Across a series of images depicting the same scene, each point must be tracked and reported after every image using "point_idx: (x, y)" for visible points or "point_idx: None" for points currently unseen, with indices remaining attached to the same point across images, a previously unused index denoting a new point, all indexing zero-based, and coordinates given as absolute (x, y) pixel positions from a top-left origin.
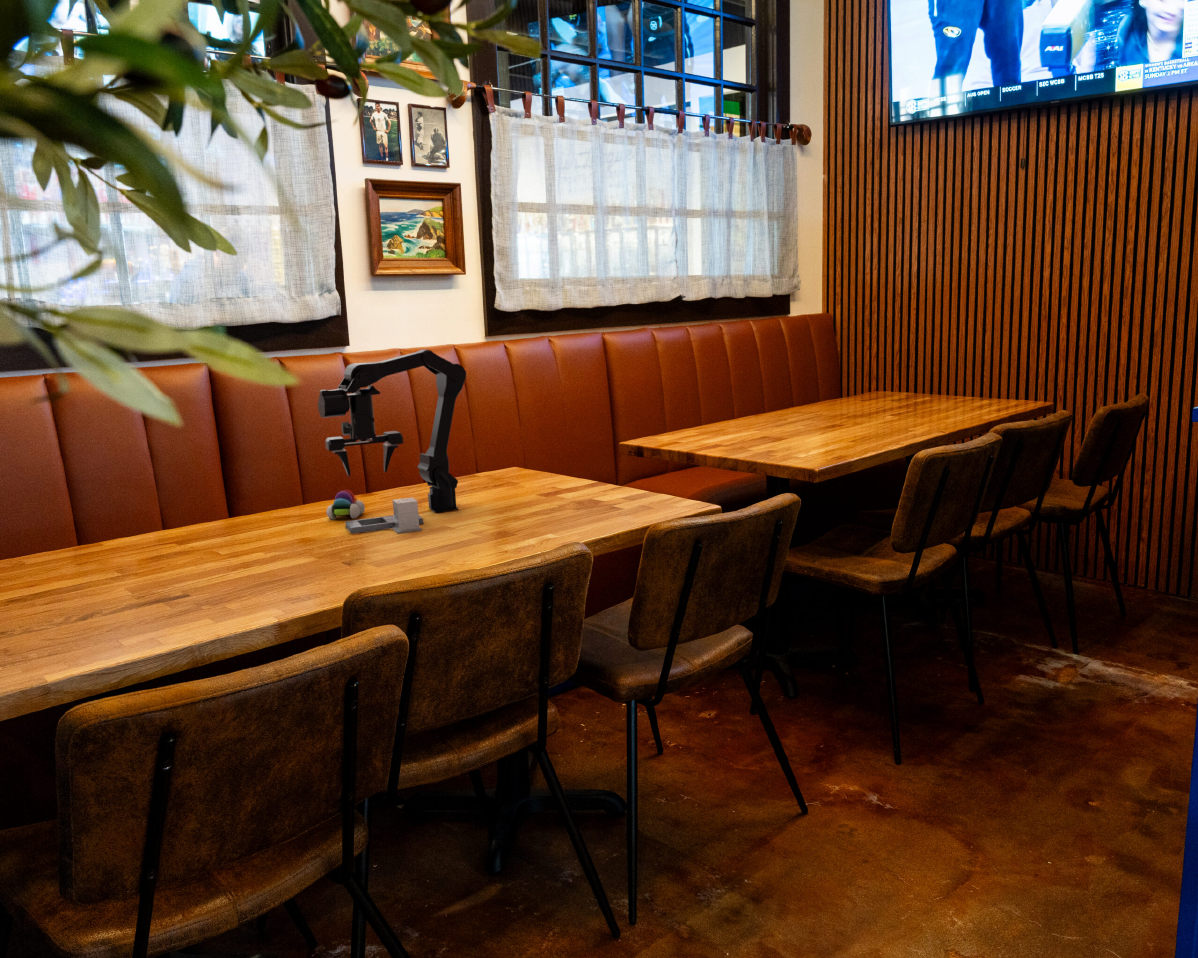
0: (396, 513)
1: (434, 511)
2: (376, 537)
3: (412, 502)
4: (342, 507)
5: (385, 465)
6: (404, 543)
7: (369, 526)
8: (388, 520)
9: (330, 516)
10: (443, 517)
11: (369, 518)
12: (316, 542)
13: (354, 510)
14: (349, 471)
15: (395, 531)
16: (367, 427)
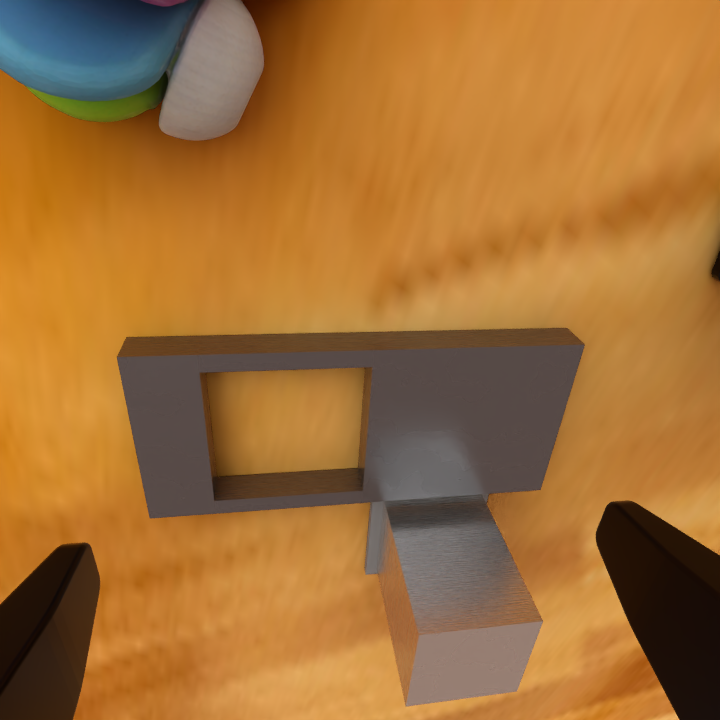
0: (395, 621)
1: (717, 268)
2: (266, 583)
3: (488, 690)
4: None
5: (648, 657)
6: (344, 674)
7: (256, 507)
8: (379, 456)
9: None
10: (670, 390)
11: (290, 357)
12: None
13: (204, 139)
14: (70, 686)
15: (367, 539)
16: None
